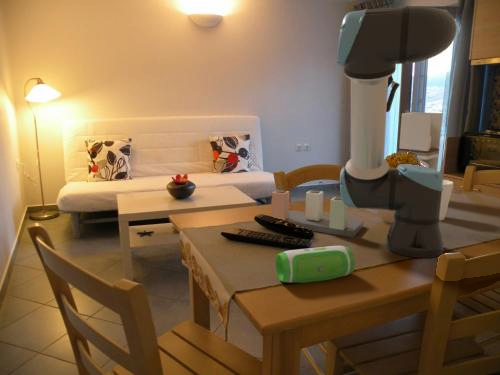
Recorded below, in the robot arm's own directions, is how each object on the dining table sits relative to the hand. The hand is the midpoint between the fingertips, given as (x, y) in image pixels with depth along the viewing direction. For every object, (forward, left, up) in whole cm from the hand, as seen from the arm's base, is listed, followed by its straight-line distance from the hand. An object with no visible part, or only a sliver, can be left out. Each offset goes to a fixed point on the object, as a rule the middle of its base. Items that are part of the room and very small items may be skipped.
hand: (376, 132), depth 140 cm
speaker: (-30, +51, -30) cm, 66 cm away
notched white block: (+5, -30, -30) cm, 42 cm away
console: (+1, +26, -29) cm, 39 cm away
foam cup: (-15, -15, -30) cm, 36 cm away
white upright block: (+1, +26, -27) cm, 38 cm away
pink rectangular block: (+7, +35, -27) cm, 45 cm away
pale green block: (-10, +25, -27) cm, 38 cm away
